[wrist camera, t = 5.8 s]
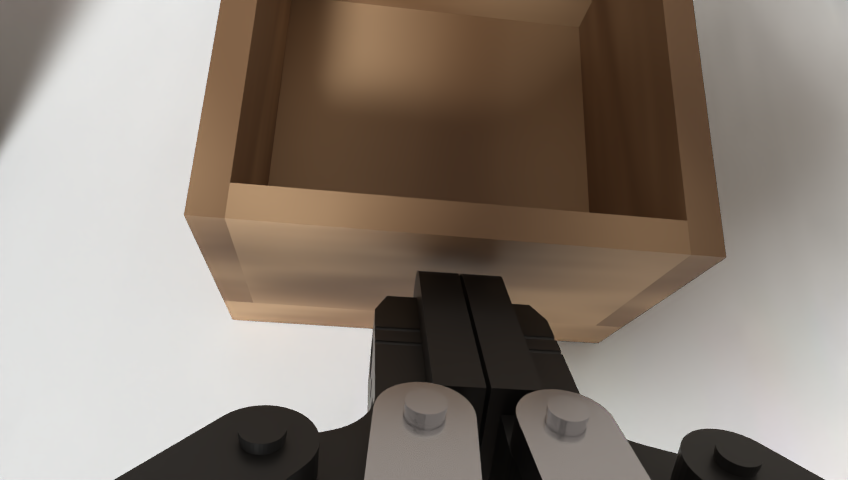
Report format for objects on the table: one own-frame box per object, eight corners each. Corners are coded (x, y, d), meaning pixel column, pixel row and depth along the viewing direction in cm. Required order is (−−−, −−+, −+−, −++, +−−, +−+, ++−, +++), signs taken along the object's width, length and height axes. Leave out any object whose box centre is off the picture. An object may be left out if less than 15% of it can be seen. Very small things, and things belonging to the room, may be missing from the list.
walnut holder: (232, 319, 16) (184, 215, 11) (274, 13, 20) (253, -189, 14) (598, 343, 17) (726, 257, 12) (581, 46, 20) (675, -132, 15)
